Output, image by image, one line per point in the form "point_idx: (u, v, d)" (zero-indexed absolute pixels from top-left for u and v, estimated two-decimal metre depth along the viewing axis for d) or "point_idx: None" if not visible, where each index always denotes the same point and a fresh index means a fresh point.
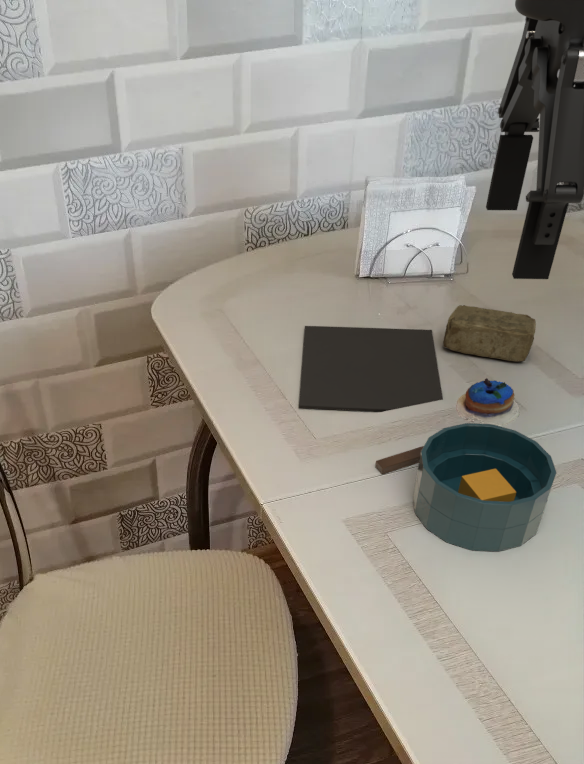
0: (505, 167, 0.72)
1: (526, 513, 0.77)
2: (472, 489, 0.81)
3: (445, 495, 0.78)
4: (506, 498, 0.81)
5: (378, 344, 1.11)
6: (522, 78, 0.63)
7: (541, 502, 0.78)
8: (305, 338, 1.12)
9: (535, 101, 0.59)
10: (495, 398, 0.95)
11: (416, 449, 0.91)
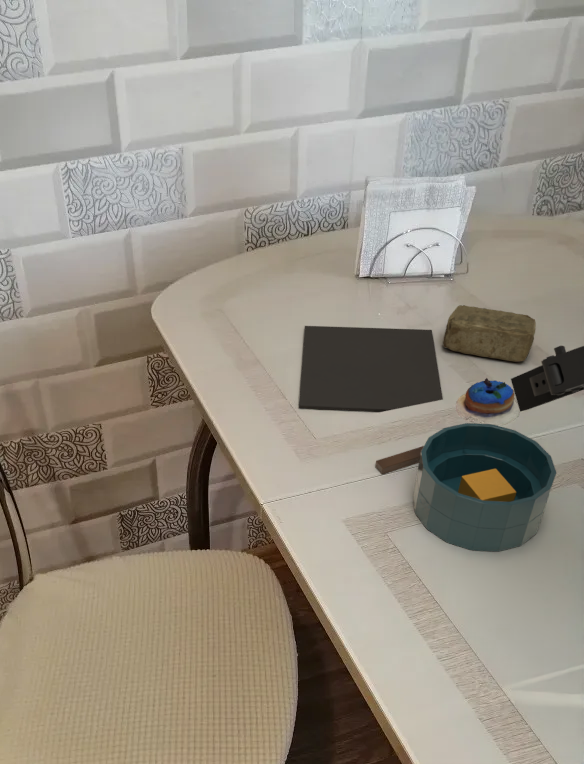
0: None
1: (526, 513, 0.77)
2: (472, 489, 0.81)
3: (445, 495, 0.78)
4: (506, 498, 0.81)
5: (378, 344, 1.11)
6: None
7: (541, 502, 0.78)
8: (305, 338, 1.12)
9: None
10: (495, 398, 0.95)
11: (416, 449, 0.91)
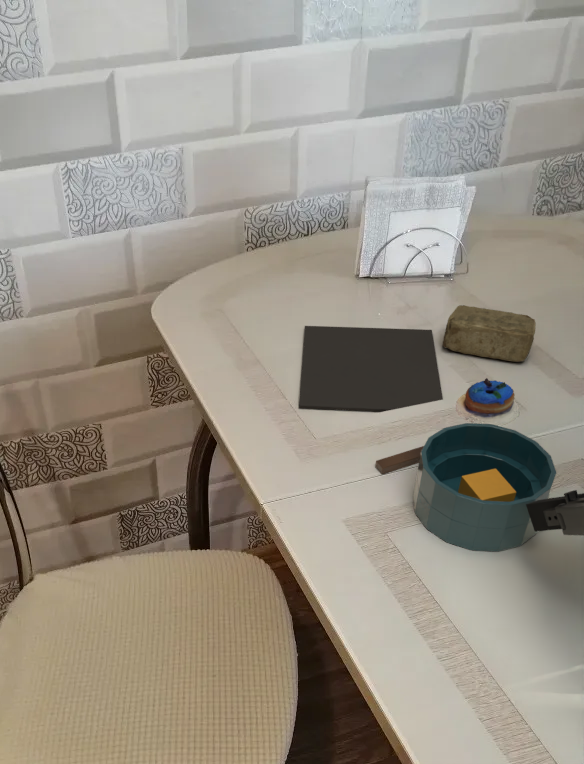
0: None
1: (526, 513, 0.77)
2: (472, 489, 0.81)
3: (445, 495, 0.78)
4: (506, 498, 0.81)
5: (378, 344, 1.11)
6: None
7: None
8: (305, 338, 1.12)
9: None
10: (495, 398, 0.95)
11: (416, 449, 0.91)
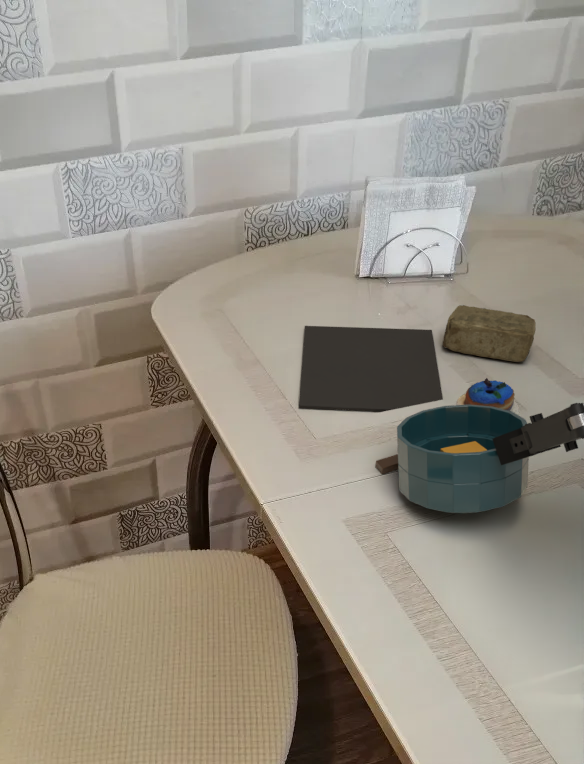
0: None
1: (500, 465, 0.77)
2: None
3: (417, 456, 0.80)
4: None
5: (378, 344, 1.11)
6: None
7: None
8: (305, 338, 1.12)
9: None
10: (495, 398, 0.95)
11: None
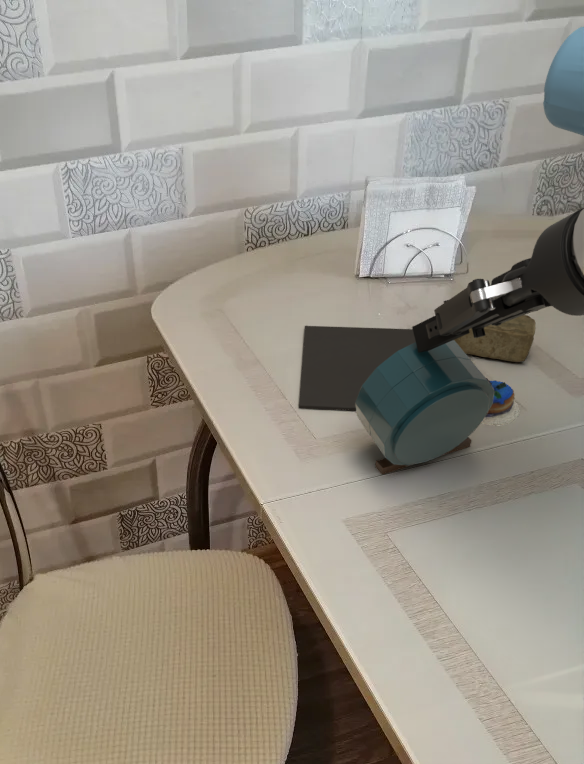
0: None
1: (423, 353, 0.81)
2: None
3: (362, 398, 0.85)
4: None
5: (378, 344, 1.11)
6: None
7: None
8: (305, 338, 1.12)
9: (530, 311, 0.68)
10: (495, 398, 0.95)
11: None
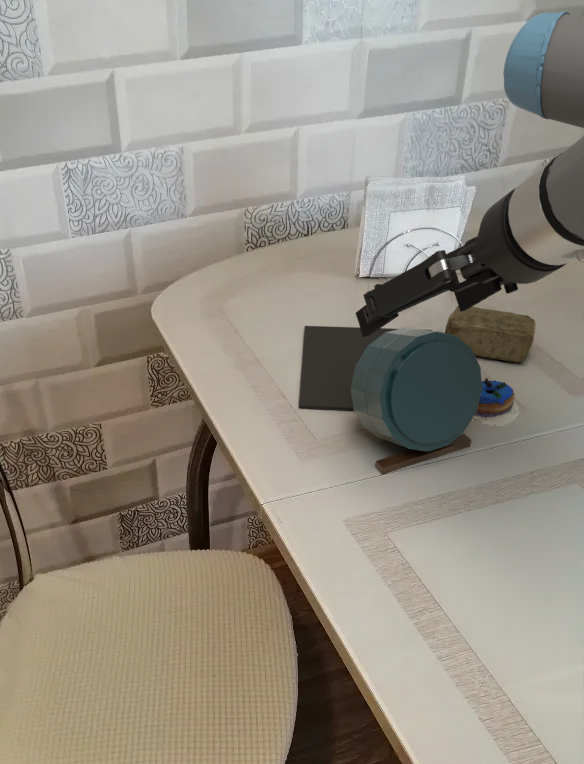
0: None
1: (408, 329, 0.90)
2: None
3: (356, 377, 0.90)
4: None
5: None
6: None
7: None
8: (305, 338, 1.12)
9: None
10: (495, 398, 0.95)
11: None
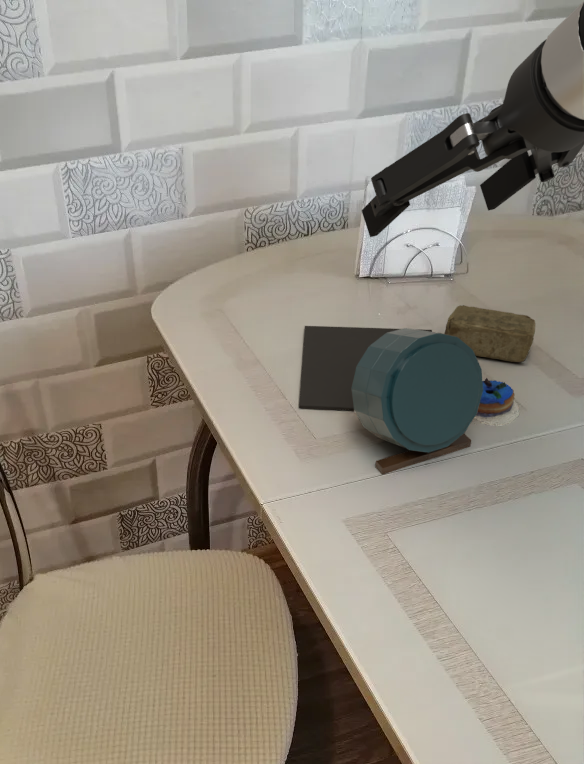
0: None
1: (409, 330, 0.90)
2: None
3: (357, 377, 0.90)
4: None
5: None
6: None
7: None
8: (305, 338, 1.12)
9: (542, 156, 0.67)
10: (495, 398, 0.95)
11: None
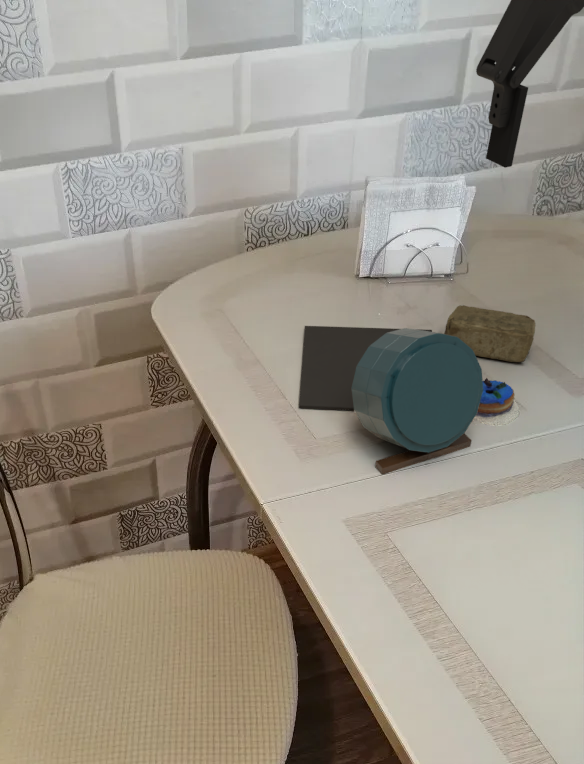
0: None
1: (409, 330, 0.90)
2: None
3: (357, 377, 0.90)
4: None
5: None
6: None
7: None
8: (305, 338, 1.12)
9: None
10: (495, 398, 0.95)
11: None
